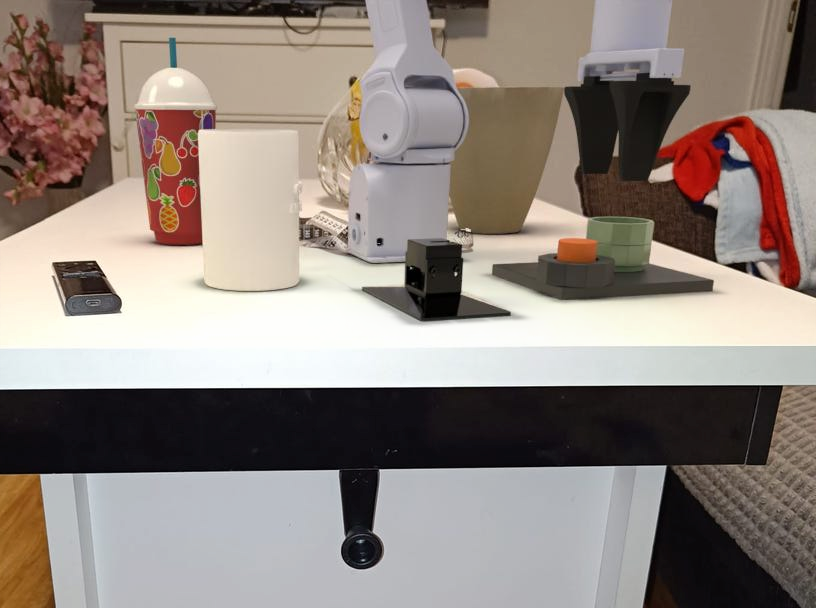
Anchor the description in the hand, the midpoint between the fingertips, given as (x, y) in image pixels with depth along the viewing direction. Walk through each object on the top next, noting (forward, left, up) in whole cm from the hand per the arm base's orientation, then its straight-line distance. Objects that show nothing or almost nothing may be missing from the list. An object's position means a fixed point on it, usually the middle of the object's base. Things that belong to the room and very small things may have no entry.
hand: (613, 177), depth 76 cm
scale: (0, 0, -9) cm, 9 cm away
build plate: (-17, -4, -9) cm, 20 cm away
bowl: (+2, +2, -8) cm, 8 cm away
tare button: (-5, -3, -6) cm, 9 cm away
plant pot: (+7, +35, -9) cm, 37 cm away
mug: (-28, +10, -9) cm, 31 cm away
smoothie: (-30, +34, -9) cm, 46 cm away
